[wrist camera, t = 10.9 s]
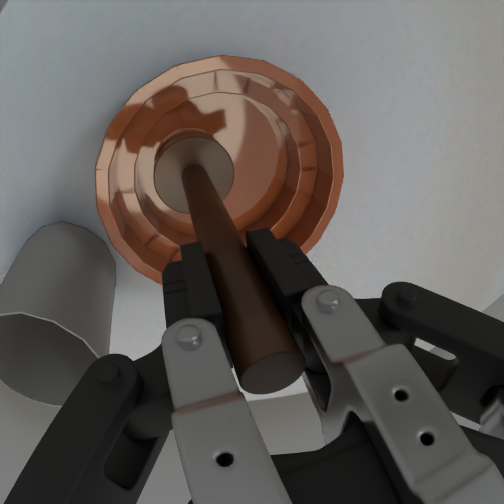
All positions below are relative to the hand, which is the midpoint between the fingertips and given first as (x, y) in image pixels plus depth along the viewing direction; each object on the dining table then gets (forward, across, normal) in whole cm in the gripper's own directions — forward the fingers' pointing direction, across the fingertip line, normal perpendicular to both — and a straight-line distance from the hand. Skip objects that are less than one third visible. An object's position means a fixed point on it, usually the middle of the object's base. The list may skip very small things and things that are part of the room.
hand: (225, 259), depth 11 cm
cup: (+13, +11, +6) cm, 18 cm away
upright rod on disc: (+11, 0, 0) cm, 11 cm away
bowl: (+12, -2, 0) cm, 12 cm away
